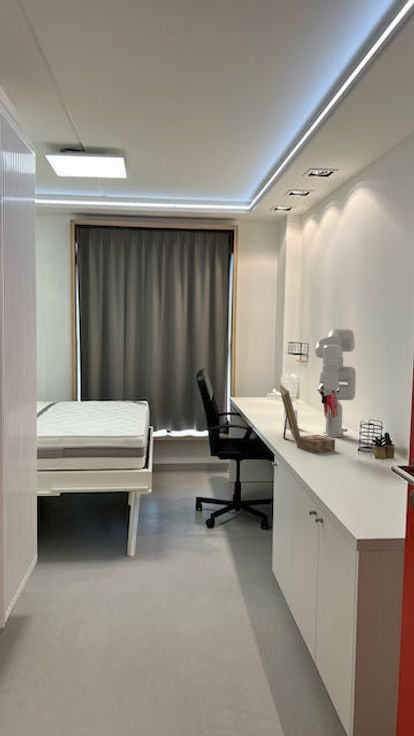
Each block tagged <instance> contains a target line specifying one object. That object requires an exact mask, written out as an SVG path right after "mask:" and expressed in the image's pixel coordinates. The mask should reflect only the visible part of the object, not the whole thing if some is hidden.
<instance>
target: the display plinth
mask: <svg viewBox="0 0 414 736" xmlns="http://www.w3.org/2000/svg"><path fill="white" fill-rule="evenodd" d="M296 448H297V449H299V448H300V450H302V451H306V452H309V453H311V454H319V453H320V454H321V453H328V452H335V451H336V439H334V438H332V437H327V436H324V435H321V434H310V435H303V436H301V435H300V437H297V443H296Z"/></svg>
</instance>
